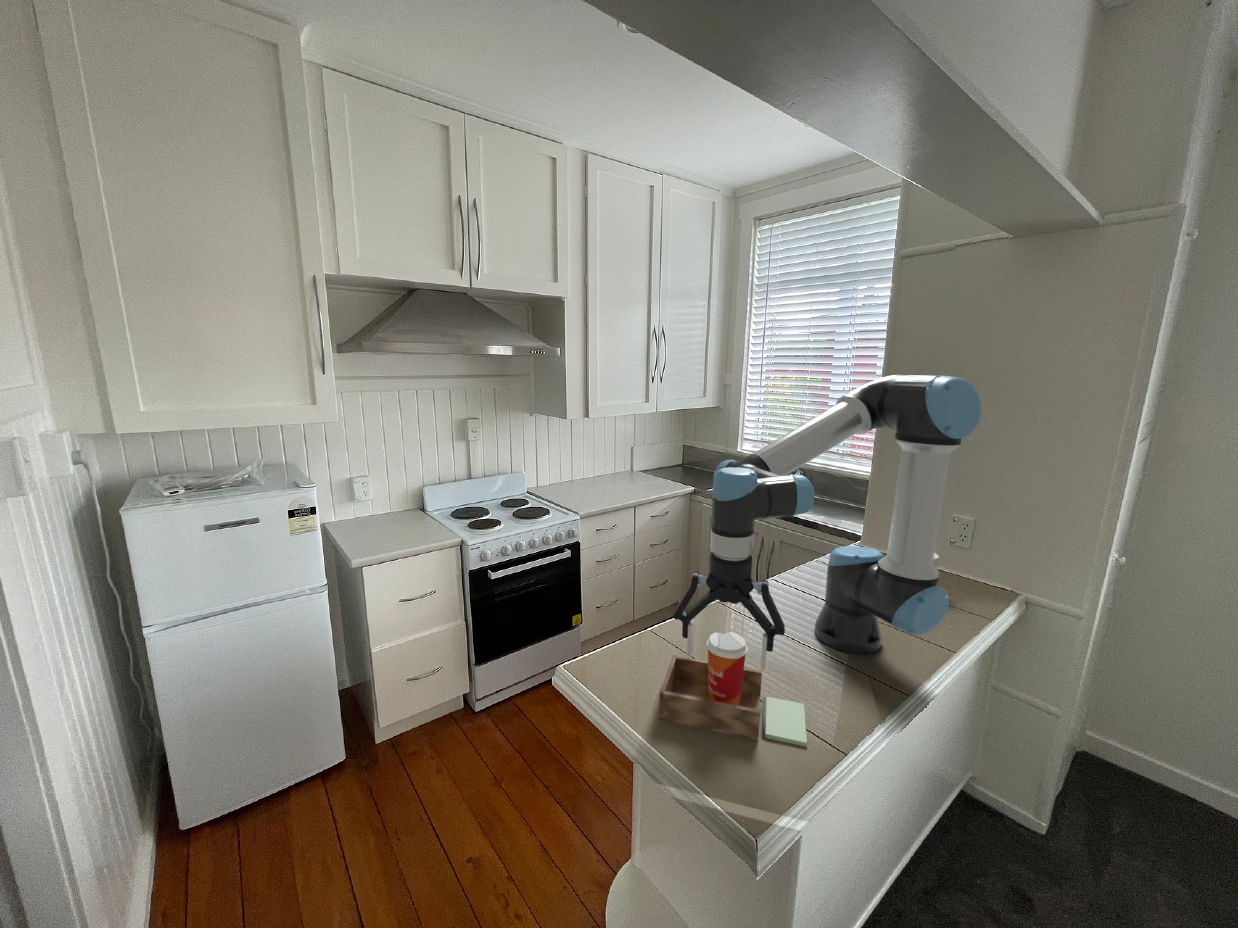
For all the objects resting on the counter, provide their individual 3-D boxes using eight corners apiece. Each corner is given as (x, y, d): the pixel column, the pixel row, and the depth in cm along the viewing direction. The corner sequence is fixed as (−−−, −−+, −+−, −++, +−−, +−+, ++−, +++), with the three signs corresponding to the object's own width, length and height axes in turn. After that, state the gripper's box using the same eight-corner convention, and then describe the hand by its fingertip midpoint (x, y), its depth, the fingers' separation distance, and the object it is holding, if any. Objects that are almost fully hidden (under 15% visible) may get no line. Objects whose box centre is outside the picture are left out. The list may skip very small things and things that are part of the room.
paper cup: (699, 694, 101) (702, 630, 99) (736, 692, 102) (740, 629, 99) (709, 721, 94) (712, 652, 91) (749, 719, 94) (754, 651, 92)
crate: (759, 699, 102) (762, 670, 101) (757, 745, 90) (760, 712, 89) (672, 682, 107) (673, 654, 106) (658, 723, 95) (659, 692, 94)
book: (762, 702, 101) (803, 710, 99) (761, 741, 91) (806, 751, 88) (763, 695, 101) (803, 703, 99) (762, 733, 90) (807, 743, 88)
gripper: (803, 553, 92) (794, 659, 96) (667, 539, 99) (665, 638, 103) (805, 569, 85) (796, 682, 89) (659, 552, 92) (657, 658, 96)
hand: (725, 659), depth 96 cm, fingers open, 13 cm apart
